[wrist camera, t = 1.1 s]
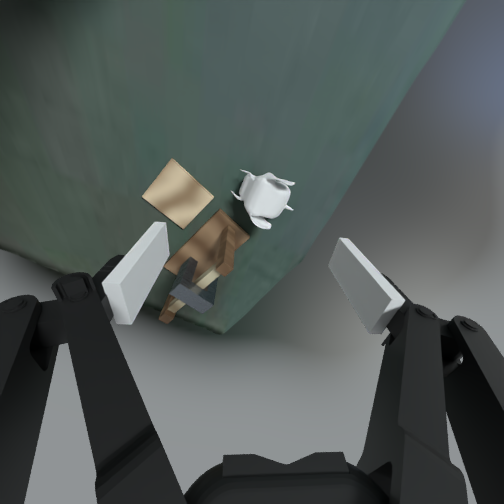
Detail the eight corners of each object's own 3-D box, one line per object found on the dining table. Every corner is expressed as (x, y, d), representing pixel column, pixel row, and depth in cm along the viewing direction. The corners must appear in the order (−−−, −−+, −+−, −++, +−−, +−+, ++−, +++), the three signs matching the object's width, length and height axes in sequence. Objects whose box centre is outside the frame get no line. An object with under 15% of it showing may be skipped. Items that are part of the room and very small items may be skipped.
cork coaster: (142, 195, 41) (141, 196, 41) (172, 158, 38) (171, 158, 37) (184, 228, 45) (183, 229, 45) (214, 196, 42) (213, 197, 41)
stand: (194, 283, 54) (179, 334, 41) (164, 263, 50) (137, 312, 37) (249, 235, 47) (252, 278, 34) (219, 208, 43) (210, 244, 30)
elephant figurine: (245, 153, 38) (246, 160, 30) (299, 180, 41) (313, 193, 33) (226, 199, 42) (223, 215, 35) (277, 221, 45) (284, 240, 38)
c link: (181, 265, 41) (169, 293, 34) (190, 256, 40) (180, 283, 33) (208, 284, 43) (202, 313, 37) (217, 276, 42) (213, 305, 36)
